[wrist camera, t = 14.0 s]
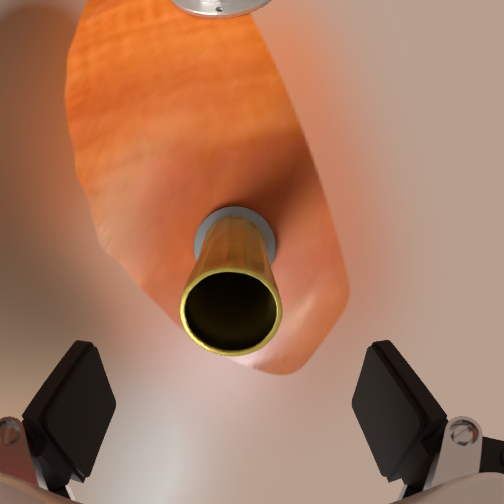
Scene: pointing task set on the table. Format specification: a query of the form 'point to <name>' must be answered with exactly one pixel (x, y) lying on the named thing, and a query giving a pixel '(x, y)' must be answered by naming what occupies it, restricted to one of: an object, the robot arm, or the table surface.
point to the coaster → (242, 213)
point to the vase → (231, 291)
